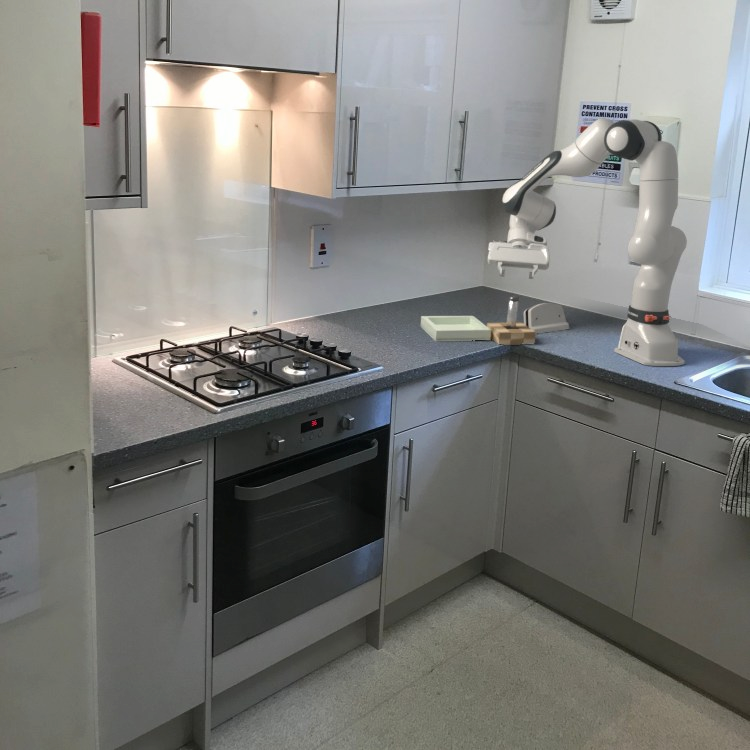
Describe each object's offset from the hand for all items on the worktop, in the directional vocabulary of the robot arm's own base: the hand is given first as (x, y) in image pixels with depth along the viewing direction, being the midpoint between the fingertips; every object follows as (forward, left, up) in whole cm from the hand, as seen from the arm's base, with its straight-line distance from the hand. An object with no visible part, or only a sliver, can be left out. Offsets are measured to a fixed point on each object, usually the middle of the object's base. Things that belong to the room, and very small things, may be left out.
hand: (516, 276), depth 293 cm
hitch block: (-11, +5, -18) cm, 22 cm away
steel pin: (-11, +5, -18) cm, 22 cm away
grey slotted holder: (0, -12, -18) cm, 22 cm away
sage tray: (-3, +21, -18) cm, 28 cm away
